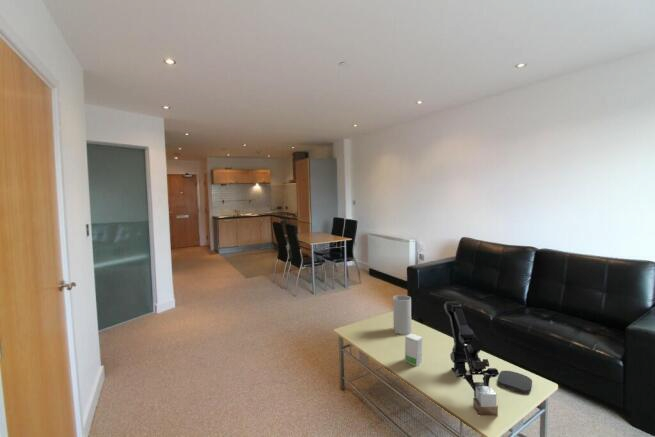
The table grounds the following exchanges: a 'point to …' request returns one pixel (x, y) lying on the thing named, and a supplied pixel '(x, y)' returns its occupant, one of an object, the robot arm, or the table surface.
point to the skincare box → (413, 349)
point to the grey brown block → (485, 401)
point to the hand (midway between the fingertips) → (481, 392)
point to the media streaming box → (515, 381)
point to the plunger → (479, 385)
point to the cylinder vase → (402, 314)
